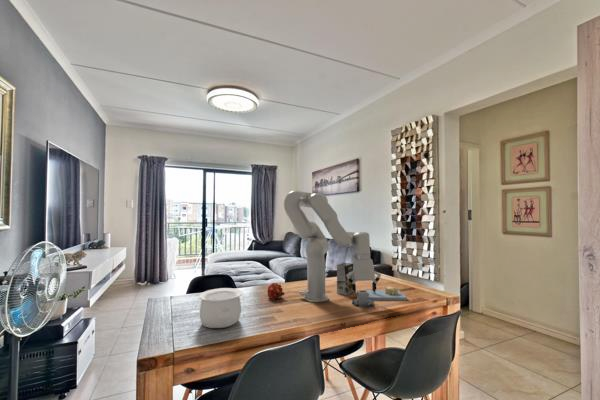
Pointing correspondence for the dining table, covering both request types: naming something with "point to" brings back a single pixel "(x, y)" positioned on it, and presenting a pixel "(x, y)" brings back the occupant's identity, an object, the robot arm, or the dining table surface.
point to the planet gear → (363, 299)
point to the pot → (220, 307)
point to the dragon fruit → (275, 291)
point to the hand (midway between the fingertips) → (364, 291)
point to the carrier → (386, 294)
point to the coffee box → (344, 278)
